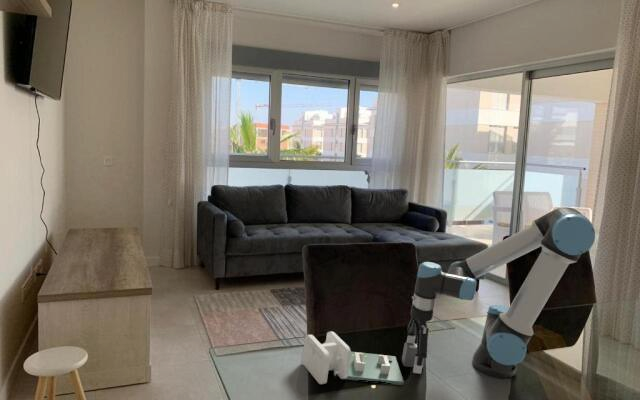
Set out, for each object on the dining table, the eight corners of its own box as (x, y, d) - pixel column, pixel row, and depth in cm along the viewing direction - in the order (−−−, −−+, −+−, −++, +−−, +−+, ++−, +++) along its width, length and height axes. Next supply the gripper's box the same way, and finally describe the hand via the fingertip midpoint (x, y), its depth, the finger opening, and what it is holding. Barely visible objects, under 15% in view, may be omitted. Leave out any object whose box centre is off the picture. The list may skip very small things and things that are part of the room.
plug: (420, 362, 176) (424, 343, 175) (423, 368, 172) (427, 348, 171) (401, 360, 176) (405, 340, 174) (403, 366, 172) (407, 346, 170)
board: (394, 359, 176) (396, 348, 175) (403, 385, 160) (405, 373, 159) (339, 353, 175) (341, 342, 174) (342, 378, 159) (344, 367, 158)
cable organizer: (348, 383, 157) (353, 350, 155) (319, 389, 153) (324, 354, 150) (327, 359, 170) (331, 329, 168) (299, 363, 165) (303, 332, 163)
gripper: (405, 291, 182) (396, 343, 186) (420, 321, 157) (409, 380, 162) (425, 293, 182) (415, 345, 186) (443, 324, 158) (431, 383, 162)
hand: (412, 362), depth 174 cm, fingers open, 13 cm apart
